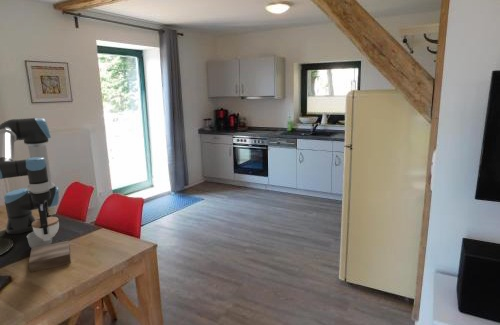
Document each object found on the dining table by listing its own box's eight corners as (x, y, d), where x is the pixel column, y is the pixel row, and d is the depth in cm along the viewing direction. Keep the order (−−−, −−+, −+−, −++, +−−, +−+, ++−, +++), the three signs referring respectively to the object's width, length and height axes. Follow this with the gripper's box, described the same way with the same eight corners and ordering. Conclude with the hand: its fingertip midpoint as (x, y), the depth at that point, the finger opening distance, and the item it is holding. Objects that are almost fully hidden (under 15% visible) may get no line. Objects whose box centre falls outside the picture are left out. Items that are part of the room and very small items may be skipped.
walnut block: (33, 257, 158) (31, 248, 157) (70, 249, 165) (68, 240, 164) (30, 273, 144) (28, 263, 143) (70, 263, 152) (69, 254, 151)
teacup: (41, 252, 161) (39, 238, 159) (23, 250, 163) (21, 236, 162) (62, 240, 174) (60, 226, 173) (45, 238, 177) (43, 225, 175)
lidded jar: (65, 234, 153) (62, 216, 151) (40, 243, 145) (37, 224, 143) (54, 229, 159) (51, 211, 157) (30, 237, 151) (26, 219, 148)
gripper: (32, 185, 155) (39, 228, 160) (28, 199, 135) (36, 247, 140) (50, 183, 158) (57, 225, 163) (49, 196, 139) (56, 243, 144)
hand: (47, 235), depth 152 cm, fingers closed on lidded jar, 11 cm apart
